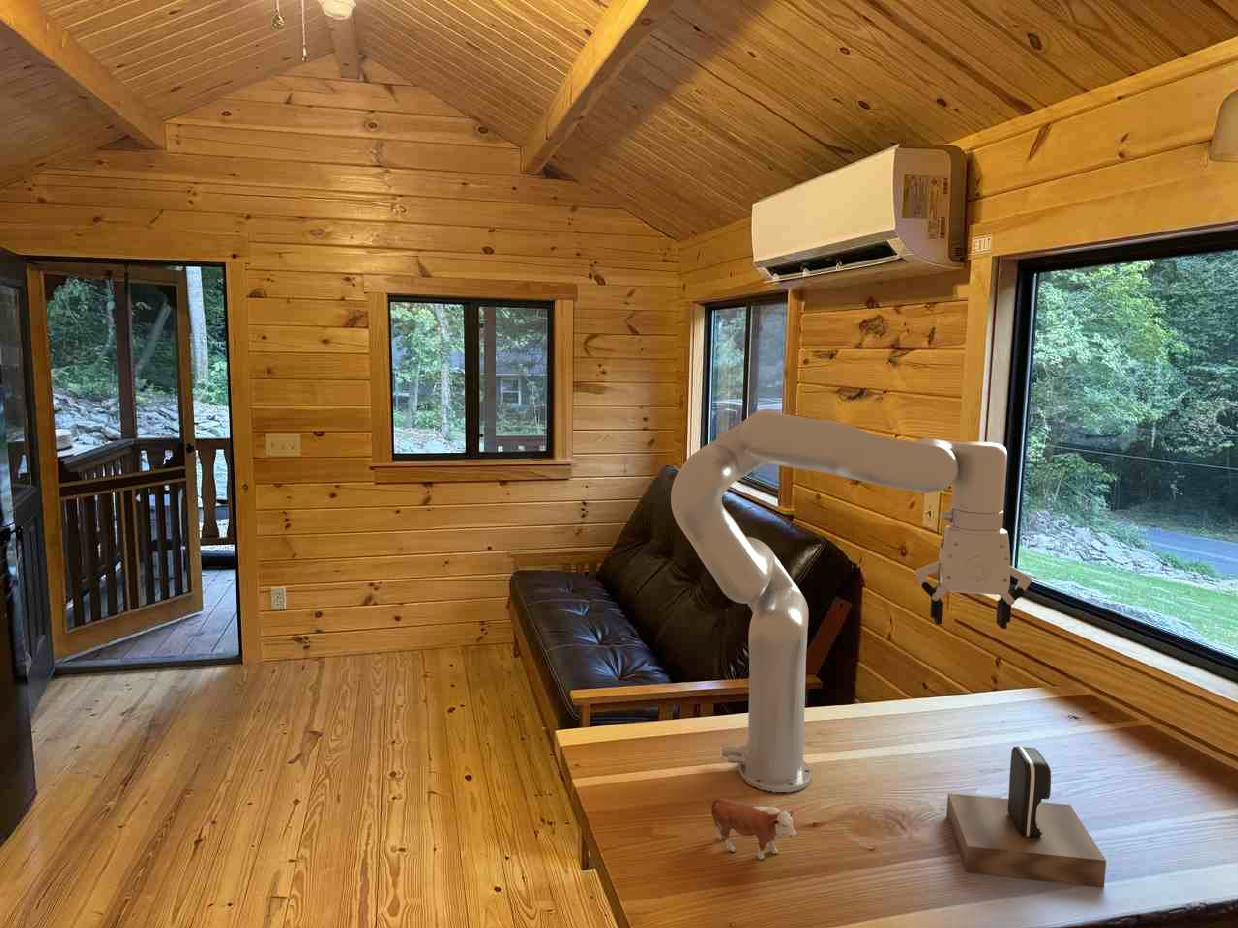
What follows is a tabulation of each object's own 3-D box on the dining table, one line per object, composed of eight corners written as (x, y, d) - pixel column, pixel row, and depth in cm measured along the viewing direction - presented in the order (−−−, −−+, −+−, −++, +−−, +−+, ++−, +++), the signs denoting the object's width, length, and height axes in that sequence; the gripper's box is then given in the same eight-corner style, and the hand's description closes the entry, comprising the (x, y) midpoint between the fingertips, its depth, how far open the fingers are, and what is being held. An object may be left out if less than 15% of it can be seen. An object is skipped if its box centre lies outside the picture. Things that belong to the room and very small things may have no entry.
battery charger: (1049, 840, 116) (1055, 766, 115) (1021, 838, 117) (1027, 764, 115) (1032, 813, 123) (1037, 742, 121) (1005, 811, 124) (1011, 741, 122)
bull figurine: (792, 875, 115) (793, 822, 114) (706, 845, 122) (707, 795, 121) (802, 859, 119) (804, 807, 117) (719, 830, 126) (719, 781, 125)
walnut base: (966, 871, 116) (968, 845, 115) (946, 816, 129) (947, 793, 129) (1103, 887, 112) (1106, 860, 112) (1068, 828, 126) (1070, 804, 125)
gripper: (922, 522, 126) (916, 628, 128) (1042, 527, 122) (1034, 636, 125) (914, 513, 133) (909, 613, 135) (1027, 517, 130) (1020, 620, 132)
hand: (969, 624), depth 130 cm, fingers open, 9 cm apart
